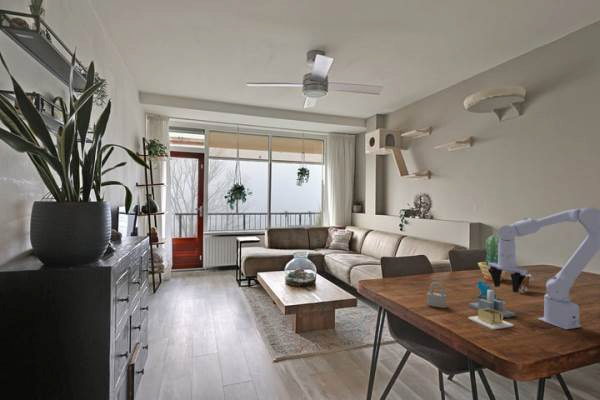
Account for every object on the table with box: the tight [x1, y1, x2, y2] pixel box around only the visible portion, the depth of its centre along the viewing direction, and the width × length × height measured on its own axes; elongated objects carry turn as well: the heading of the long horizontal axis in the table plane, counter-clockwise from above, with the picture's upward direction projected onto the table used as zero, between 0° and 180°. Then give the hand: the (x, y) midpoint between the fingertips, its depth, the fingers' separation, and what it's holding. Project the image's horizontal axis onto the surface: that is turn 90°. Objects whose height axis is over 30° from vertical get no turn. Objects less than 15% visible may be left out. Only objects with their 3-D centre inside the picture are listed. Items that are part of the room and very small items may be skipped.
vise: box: [468, 290, 516, 319], centre depth 124 cm, size 14×12×8 cm
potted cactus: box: [477, 235, 507, 281], centre depth 177 cm, size 15×15×25 cm
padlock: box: [426, 281, 447, 309], centre depth 128 cm, size 7×4×10 cm, turn 64°
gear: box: [476, 280, 498, 300], centre depth 140 cm, size 11×6×10 cm
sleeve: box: [477, 308, 504, 325], centre depth 111 cm, size 6×6×4 cm
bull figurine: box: [519, 273, 535, 294], centre depth 153 cm, size 4×13×8 cm, turn 112°
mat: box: [468, 315, 514, 331], centre depth 111 cm, size 10×10×1 cm
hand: (506, 289), depth 122 cm, fingers open, 7 cm apart
